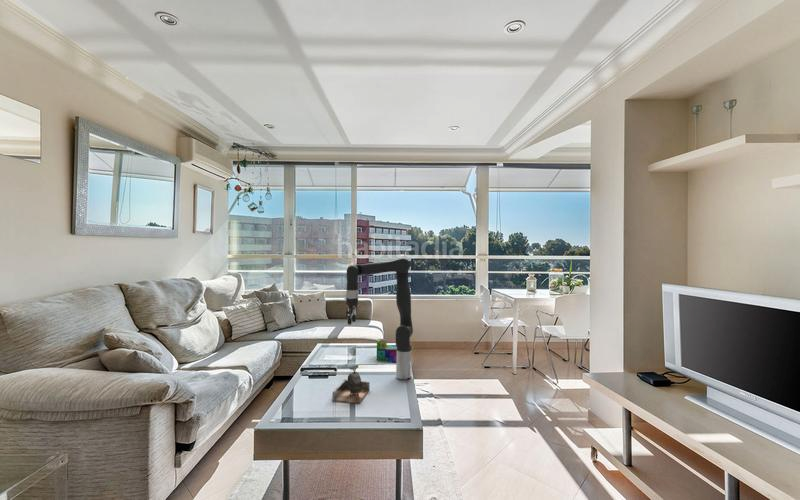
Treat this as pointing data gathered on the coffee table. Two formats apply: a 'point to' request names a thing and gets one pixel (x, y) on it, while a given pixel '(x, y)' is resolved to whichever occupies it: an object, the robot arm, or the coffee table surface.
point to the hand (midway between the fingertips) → (351, 323)
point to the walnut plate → (351, 396)
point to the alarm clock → (354, 382)
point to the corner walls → (345, 384)
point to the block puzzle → (386, 351)
